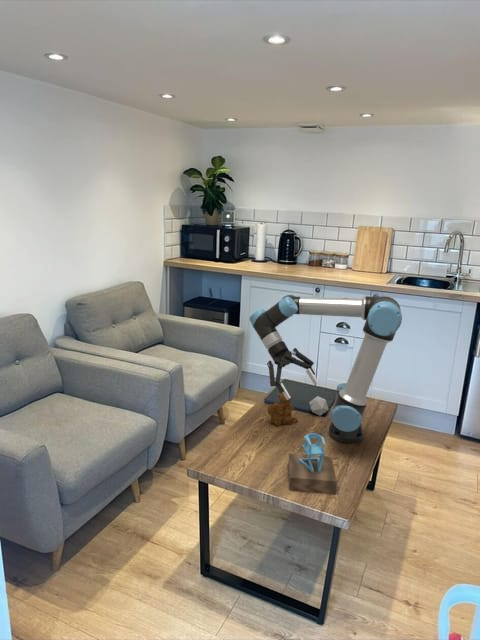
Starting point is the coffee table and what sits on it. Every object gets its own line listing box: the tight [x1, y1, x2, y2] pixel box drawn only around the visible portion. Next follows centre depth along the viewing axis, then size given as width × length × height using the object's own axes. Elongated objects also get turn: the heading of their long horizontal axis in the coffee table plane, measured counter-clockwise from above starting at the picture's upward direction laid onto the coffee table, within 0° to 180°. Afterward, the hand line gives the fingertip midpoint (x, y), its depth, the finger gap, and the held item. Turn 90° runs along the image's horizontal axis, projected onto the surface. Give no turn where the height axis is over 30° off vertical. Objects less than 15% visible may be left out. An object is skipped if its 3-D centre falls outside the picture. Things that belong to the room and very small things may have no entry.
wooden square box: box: [287, 453, 338, 495], centre depth 169 cm, size 16×16×5 cm
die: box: [308, 395, 329, 417], centre depth 223 cm, size 8×9×10 cm
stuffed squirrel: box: [266, 393, 299, 427], centre depth 212 cm, size 10×14×13 cm
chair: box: [299, 432, 327, 473], centre depth 168 cm, size 8×8×12 cm
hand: (303, 391), depth 181 cm, fingers open, 13 cm apart
